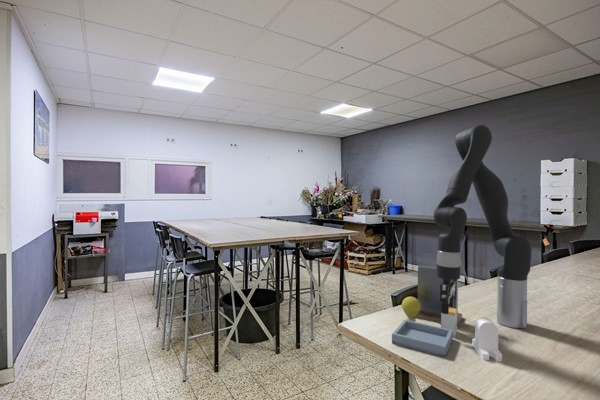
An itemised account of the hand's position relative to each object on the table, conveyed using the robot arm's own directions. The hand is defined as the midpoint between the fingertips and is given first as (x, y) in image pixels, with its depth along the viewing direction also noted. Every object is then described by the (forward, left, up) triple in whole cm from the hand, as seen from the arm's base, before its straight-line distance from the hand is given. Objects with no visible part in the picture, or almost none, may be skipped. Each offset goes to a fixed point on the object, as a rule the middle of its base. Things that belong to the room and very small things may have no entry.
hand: (447, 309), depth 113 cm
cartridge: (-1, 0, -8) cm, 8 cm away
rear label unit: (+5, -12, -8) cm, 15 cm away
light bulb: (+12, 0, -8) cm, 15 cm away
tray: (+5, +12, -8) cm, 15 cm away
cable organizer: (-13, +9, -8) cm, 18 cm away
